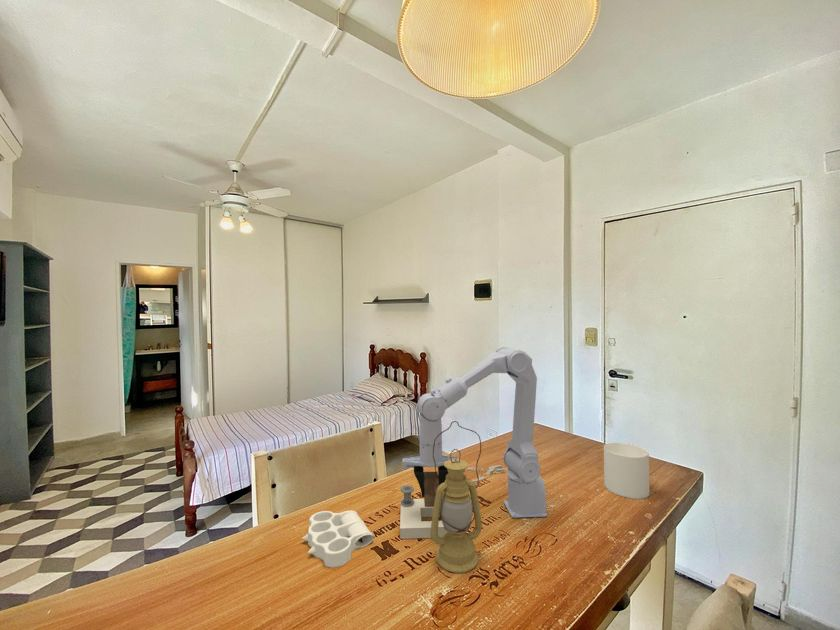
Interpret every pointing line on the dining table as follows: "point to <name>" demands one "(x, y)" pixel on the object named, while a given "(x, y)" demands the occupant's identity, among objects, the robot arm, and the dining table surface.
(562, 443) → the dining table surface
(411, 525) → the slotted board
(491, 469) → the pliers
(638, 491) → the cup
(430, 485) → the block
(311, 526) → the white holed flat piece
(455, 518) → the lantern
